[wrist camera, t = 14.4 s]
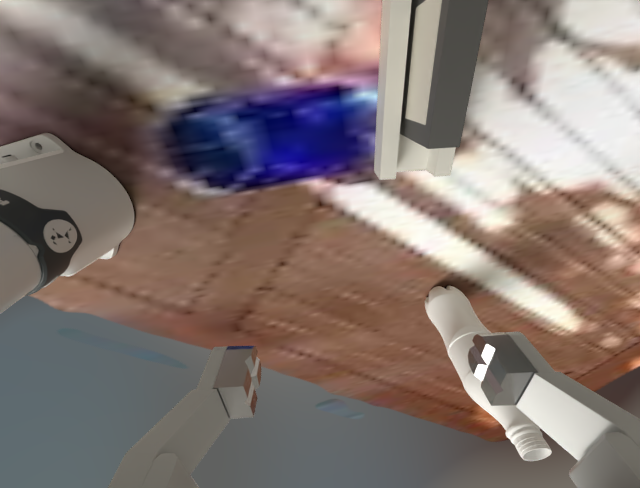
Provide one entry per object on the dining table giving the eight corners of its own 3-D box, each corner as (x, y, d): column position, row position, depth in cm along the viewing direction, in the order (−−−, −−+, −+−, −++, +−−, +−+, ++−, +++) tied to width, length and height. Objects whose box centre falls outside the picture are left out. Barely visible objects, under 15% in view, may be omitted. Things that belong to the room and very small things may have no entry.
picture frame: (398, 133, 35) (427, 149, 26) (411, -13, 28) (456, -58, 19) (423, 132, 35) (460, 147, 26) (442, -15, 28) (502, -62, 19)
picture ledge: (373, 171, 38) (380, 179, 35) (386, -78, 26) (397, -103, 22) (437, 167, 38) (450, 175, 34) (479, -84, 26) (505, -111, 22)
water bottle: (412, 301, 50) (486, 461, 29) (440, 274, 47) (545, 431, 26) (440, 315, 52) (529, 474, 31) (468, 290, 49) (588, 448, 28)
